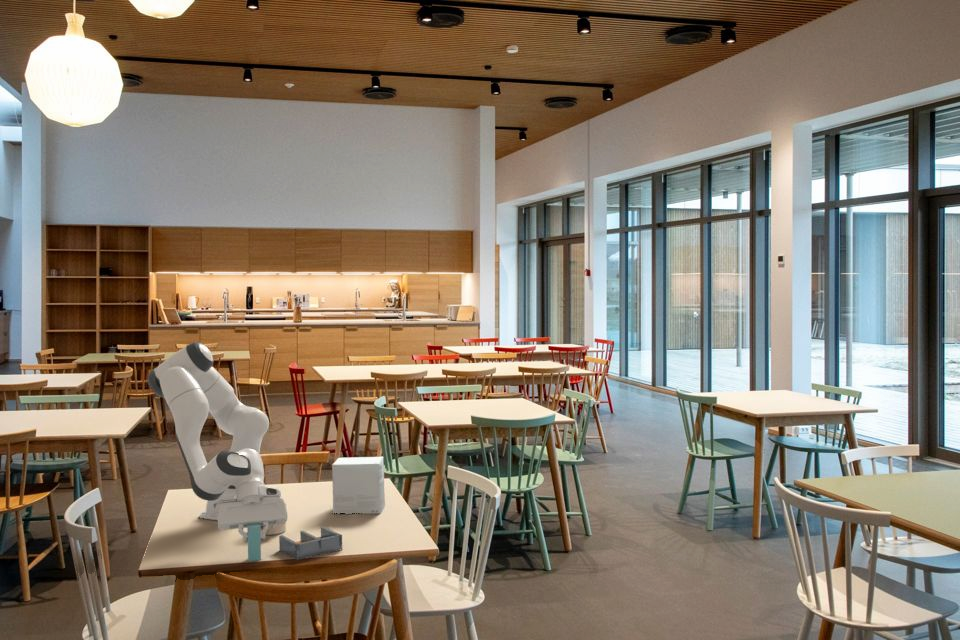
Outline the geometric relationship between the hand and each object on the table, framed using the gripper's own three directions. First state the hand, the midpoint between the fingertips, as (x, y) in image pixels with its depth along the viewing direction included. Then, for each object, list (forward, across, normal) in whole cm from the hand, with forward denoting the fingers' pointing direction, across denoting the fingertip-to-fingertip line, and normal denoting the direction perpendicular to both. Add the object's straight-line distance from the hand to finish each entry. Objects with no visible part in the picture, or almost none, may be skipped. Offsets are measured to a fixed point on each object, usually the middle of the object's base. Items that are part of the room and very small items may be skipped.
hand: (254, 538), depth 240 cm
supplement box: (-27, +40, +36) cm, 60 cm away
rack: (+2, +17, +7) cm, 18 cm away
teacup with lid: (-14, +8, +23) cm, 28 cm away
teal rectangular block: (+4, 0, +5) cm, 6 cm away
